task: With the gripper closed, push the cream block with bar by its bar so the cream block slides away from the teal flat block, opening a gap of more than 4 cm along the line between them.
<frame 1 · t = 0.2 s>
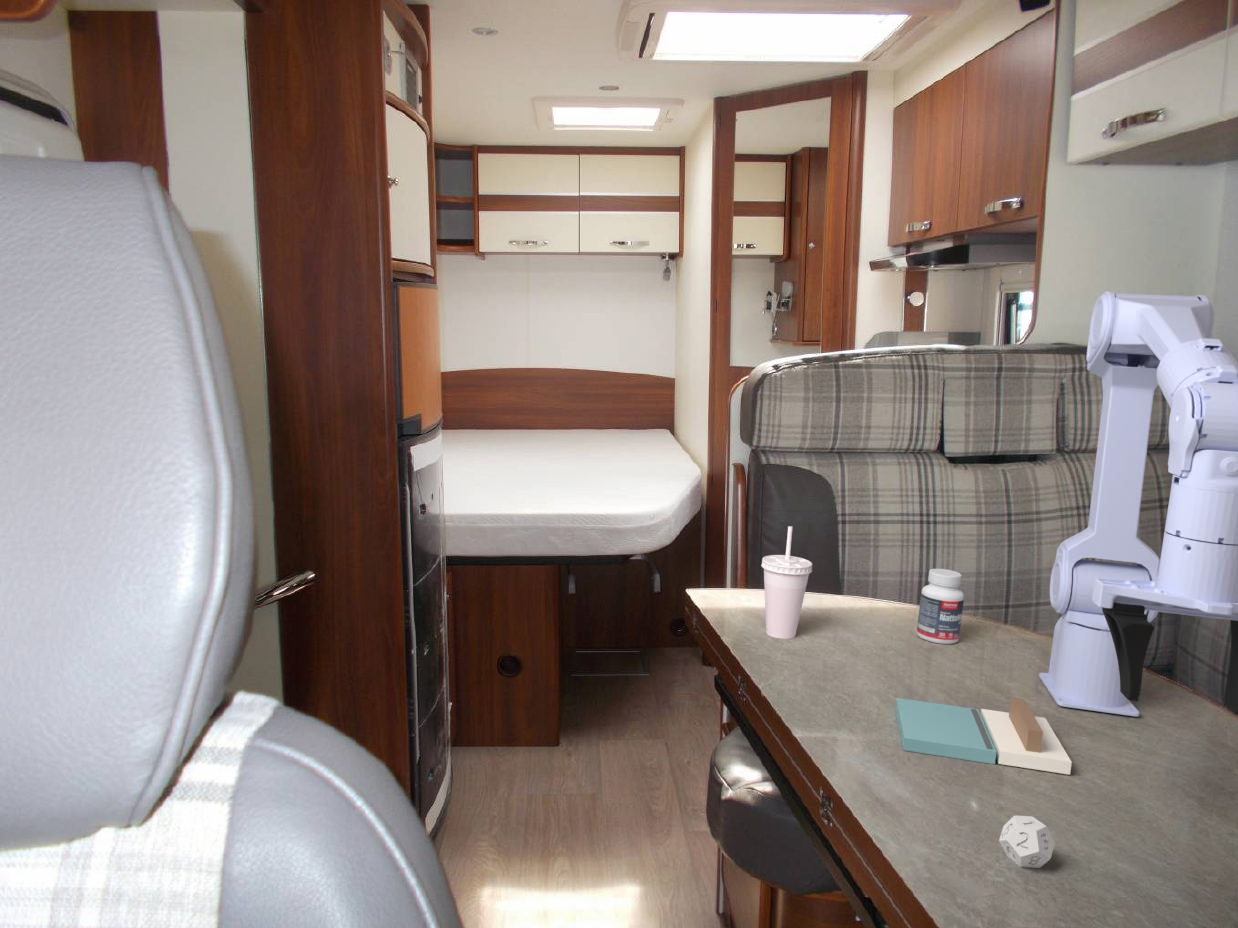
hand: (1181, 703, 71), 10 cm above the table, fingers open, 7 cm apart
teal flat block: (941, 734, 87), on the table
smoothie: (780, 635, 114), on the table
game die: (1023, 863, 66), on the table
cream block with bar: (1024, 729, 85), point 2 cm above the table, slide at 0.0 cm
pill bottle: (937, 639, 117), on the table
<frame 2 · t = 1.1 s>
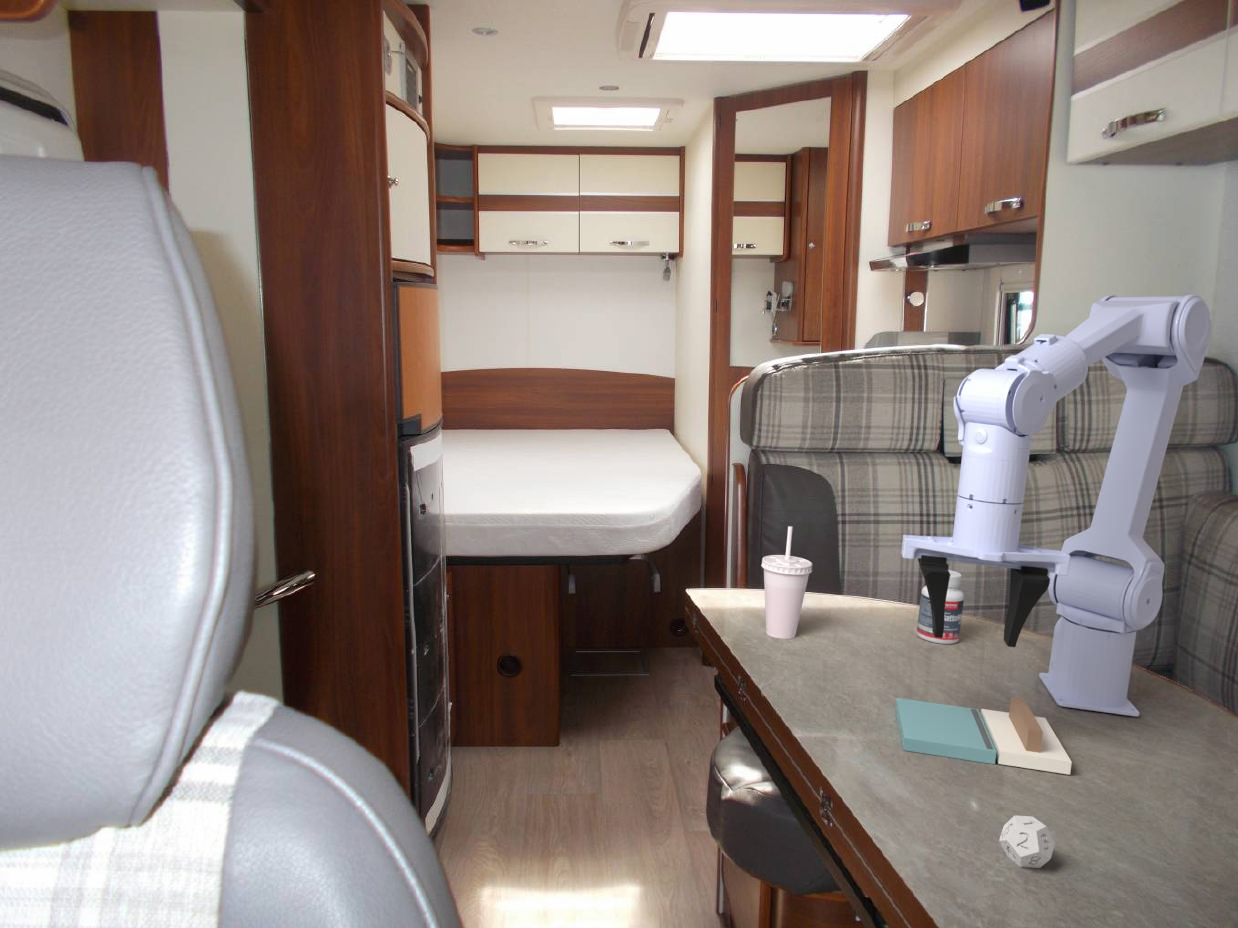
hand: (973, 639, 85), 10 cm above the table, fingers open, 6 cm apart
nothing on the table moved.
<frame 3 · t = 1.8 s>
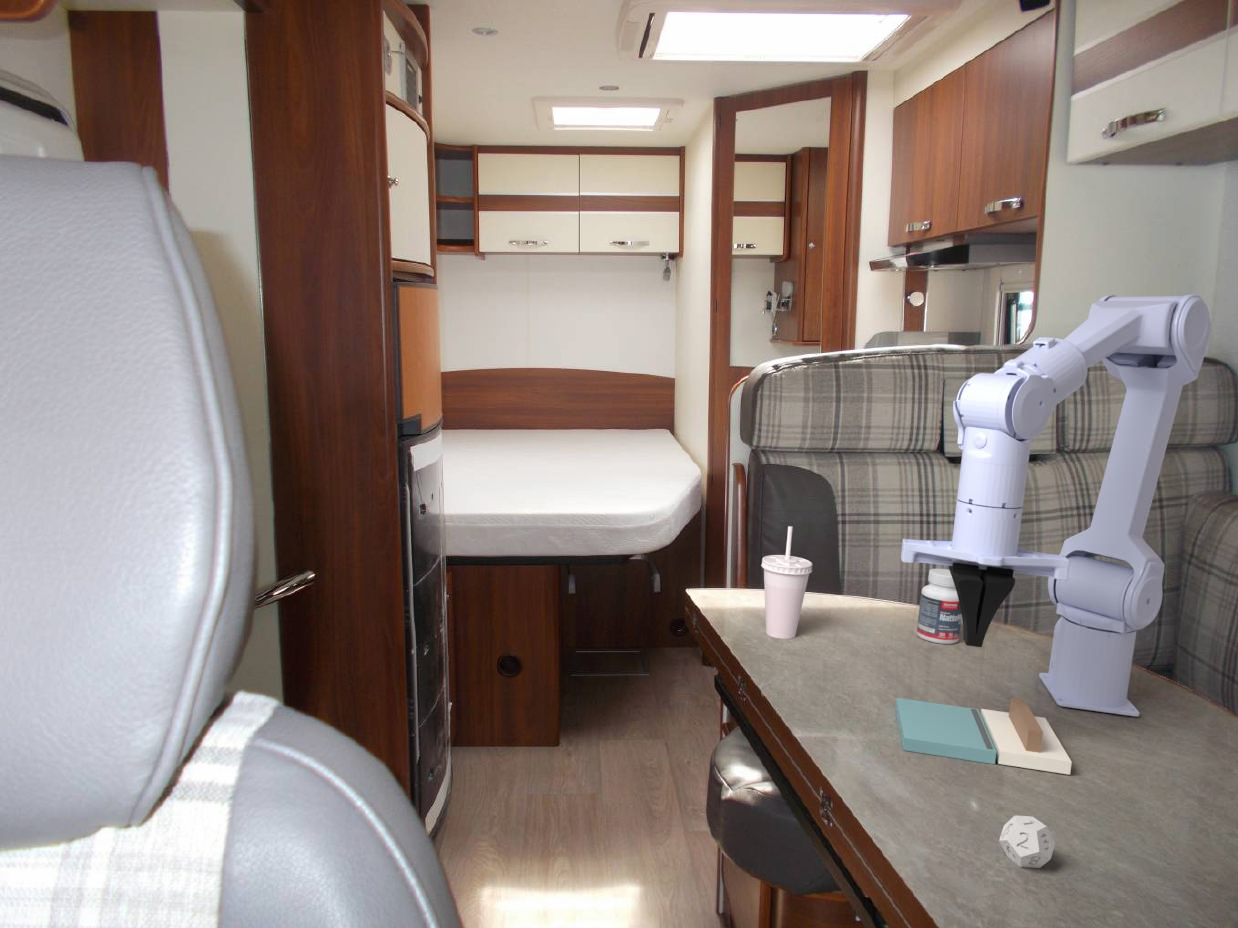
hand: (972, 643, 85), 9 cm above the table, fingers closed
nothing on the table moved.
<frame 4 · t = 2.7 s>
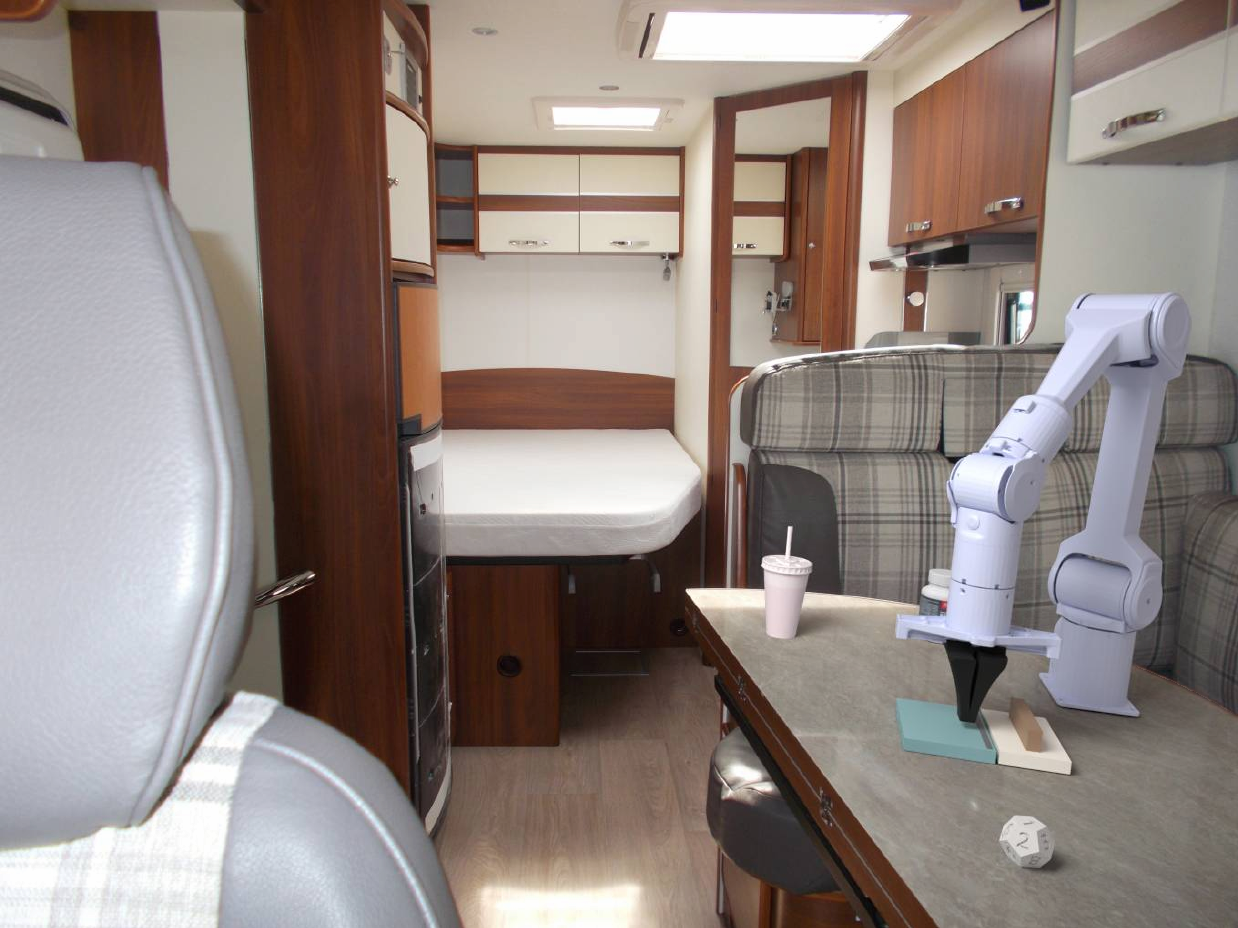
hand: (965, 718, 86), 2 cm above the table, fingers closed
nothing on the table moved.
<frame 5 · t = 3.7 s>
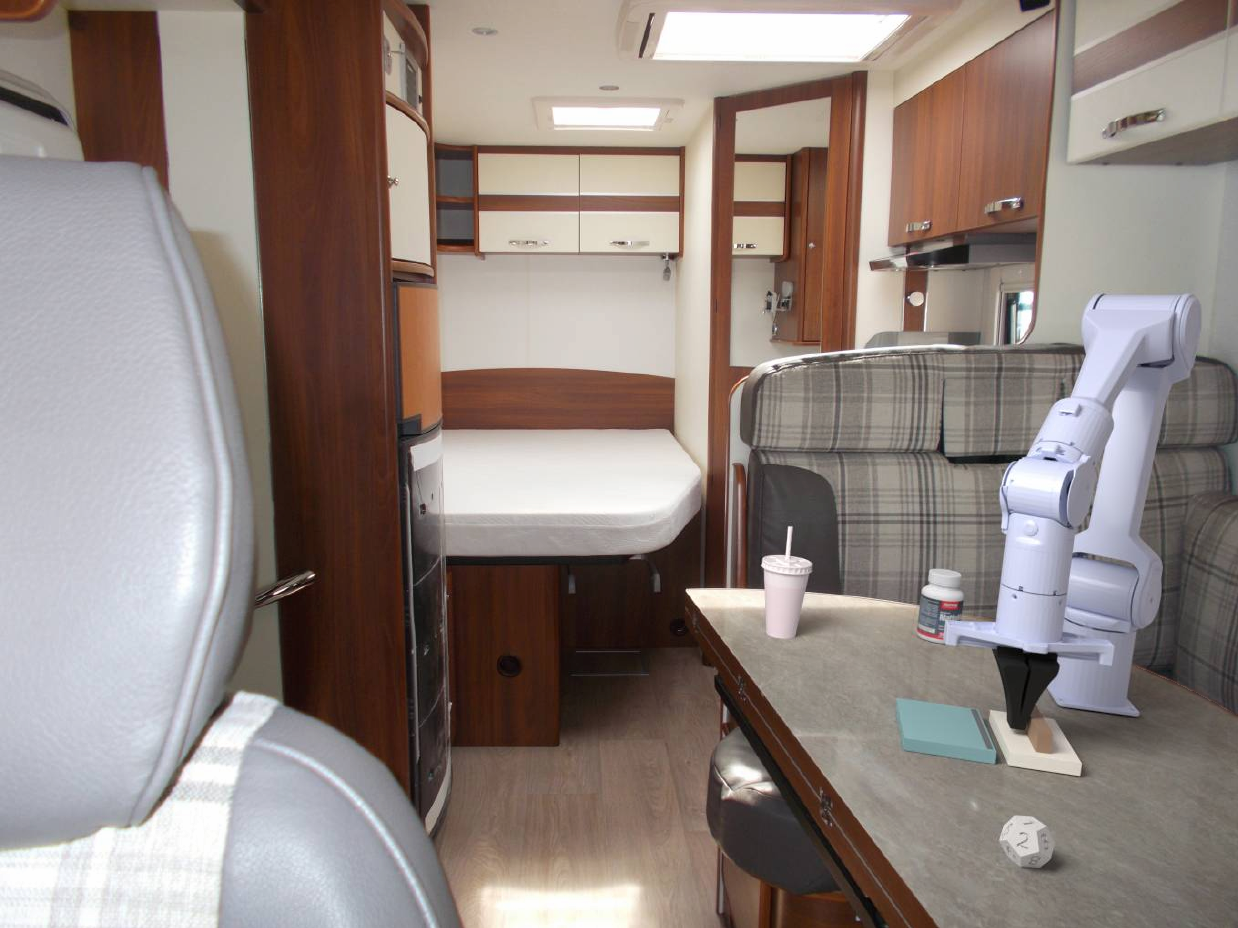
hand: (1015, 725, 85), 2 cm above the table, fingers closed
cream block with bar: (1033, 730, 85), point 2 cm above the table, slide at 0.8 cm, touching gripper
everything else where it was.
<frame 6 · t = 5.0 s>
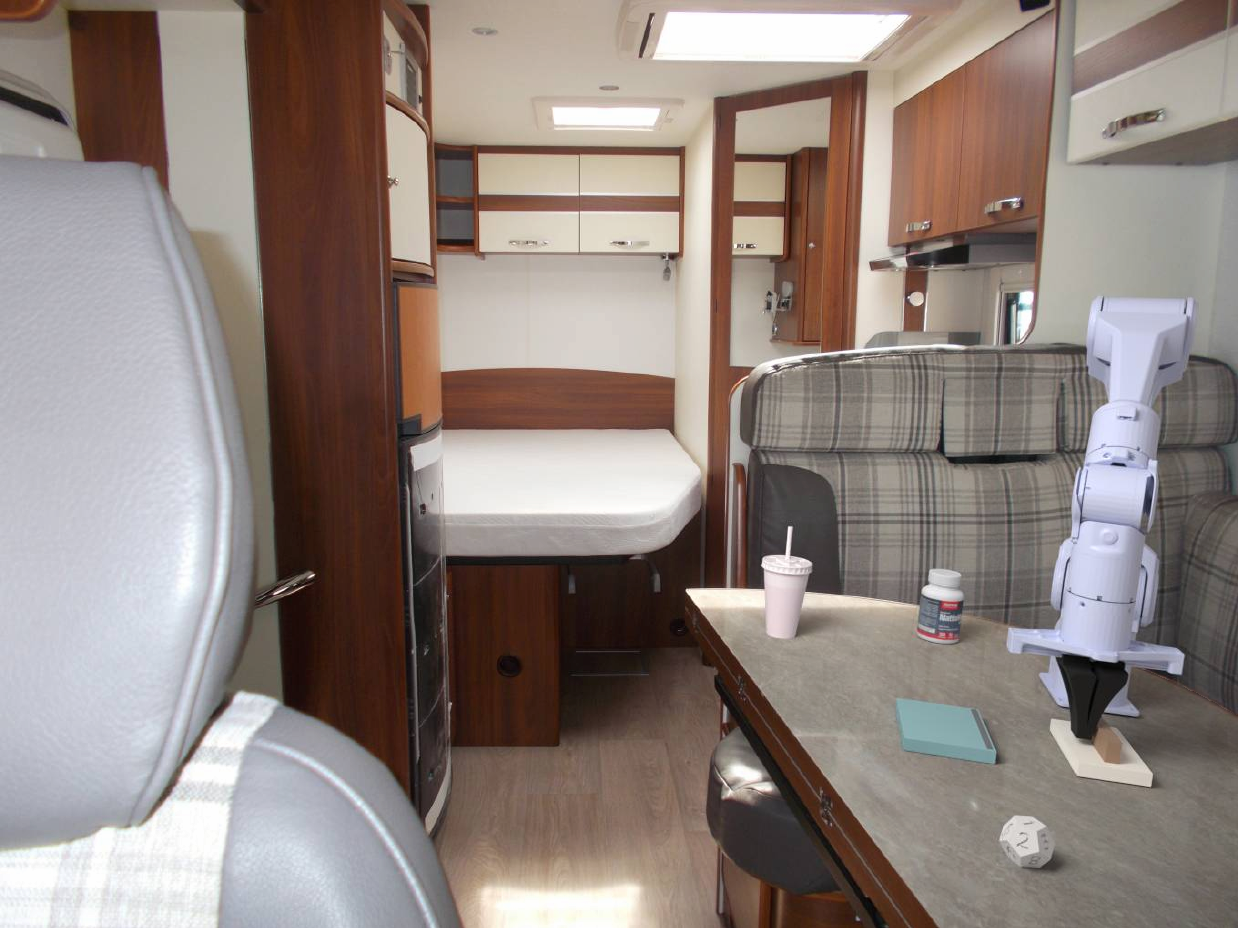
hand: (1080, 734, 84), 2 cm above the table, fingers closed
cream block with bar: (1099, 740, 83), point 2 cm above the table, slide at 6.6 cm, touching gripper
everything else where it was.
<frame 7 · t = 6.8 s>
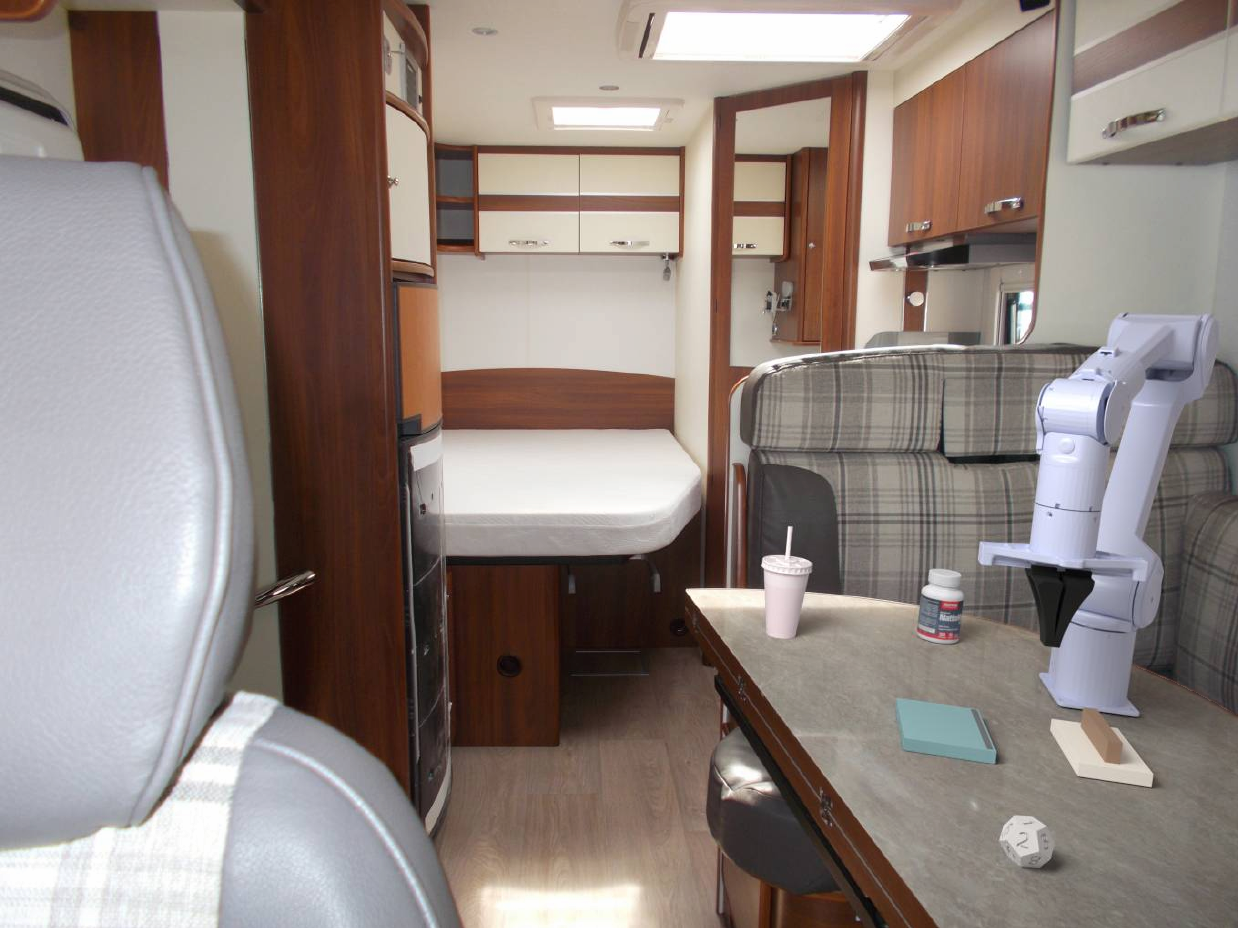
hand: (1049, 643, 86), 9 cm above the table, fingers closed
cream block with bar: (1099, 740, 83), point 2 cm above the table, slide at 6.6 cm
everything else where it was.
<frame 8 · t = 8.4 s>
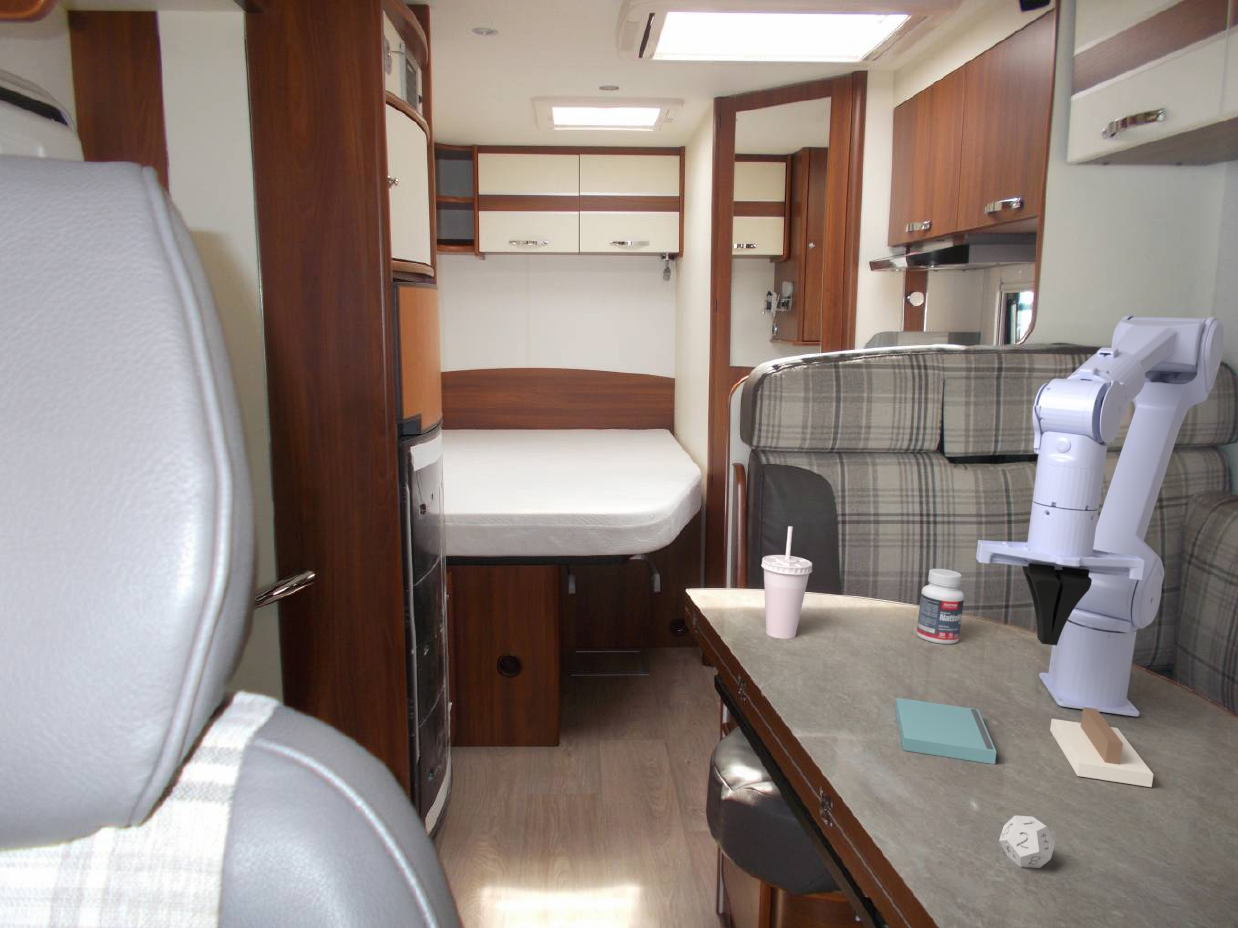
hand: (1047, 641, 87), 9 cm above the table, fingers closed
nothing on the table moved.
at the end: cream block with bar slide at 6.6 cm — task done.
